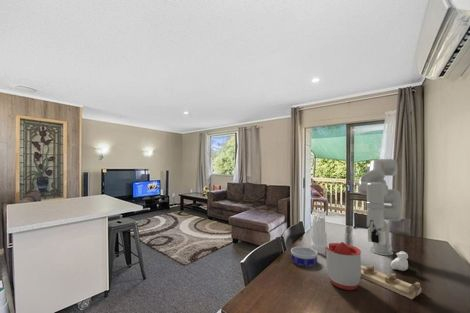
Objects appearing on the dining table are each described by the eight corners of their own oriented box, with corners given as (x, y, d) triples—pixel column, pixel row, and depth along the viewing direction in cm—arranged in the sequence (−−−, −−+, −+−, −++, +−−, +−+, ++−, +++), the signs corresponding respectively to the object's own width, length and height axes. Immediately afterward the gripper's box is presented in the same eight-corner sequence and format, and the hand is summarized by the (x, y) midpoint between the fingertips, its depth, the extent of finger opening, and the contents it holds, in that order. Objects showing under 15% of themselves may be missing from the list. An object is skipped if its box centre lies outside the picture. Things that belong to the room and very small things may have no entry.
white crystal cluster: (325, 255, 137) (324, 216, 138) (309, 251, 143) (308, 214, 145) (329, 249, 145) (328, 213, 147) (313, 246, 152) (313, 211, 153)
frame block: (370, 240, 114) (370, 227, 114) (385, 243, 108) (385, 230, 108) (368, 241, 112) (367, 228, 112) (383, 244, 106) (382, 231, 107)
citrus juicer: (327, 271, 114) (326, 234, 116) (364, 282, 103) (363, 241, 105) (318, 283, 102) (317, 242, 103) (359, 297, 91) (357, 250, 92)
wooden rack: (355, 266, 121) (355, 258, 121) (421, 292, 95) (421, 282, 95) (345, 270, 116) (344, 262, 116) (411, 299, 90) (411, 288, 90)
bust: (394, 275, 114) (408, 264, 109) (382, 262, 120) (395, 251, 114) (407, 271, 119) (421, 260, 114) (395, 258, 125) (407, 247, 119)
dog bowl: (294, 254, 138) (294, 244, 139) (319, 259, 131) (319, 249, 131) (288, 263, 125) (287, 252, 126) (314, 269, 118) (314, 258, 118)
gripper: (374, 204, 119) (375, 237, 118) (360, 206, 109) (361, 242, 108) (389, 205, 113) (391, 240, 112) (377, 208, 103) (378, 246, 102)
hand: (376, 241), depth 110 cm, fingers closed on frame block, 3 cm apart
